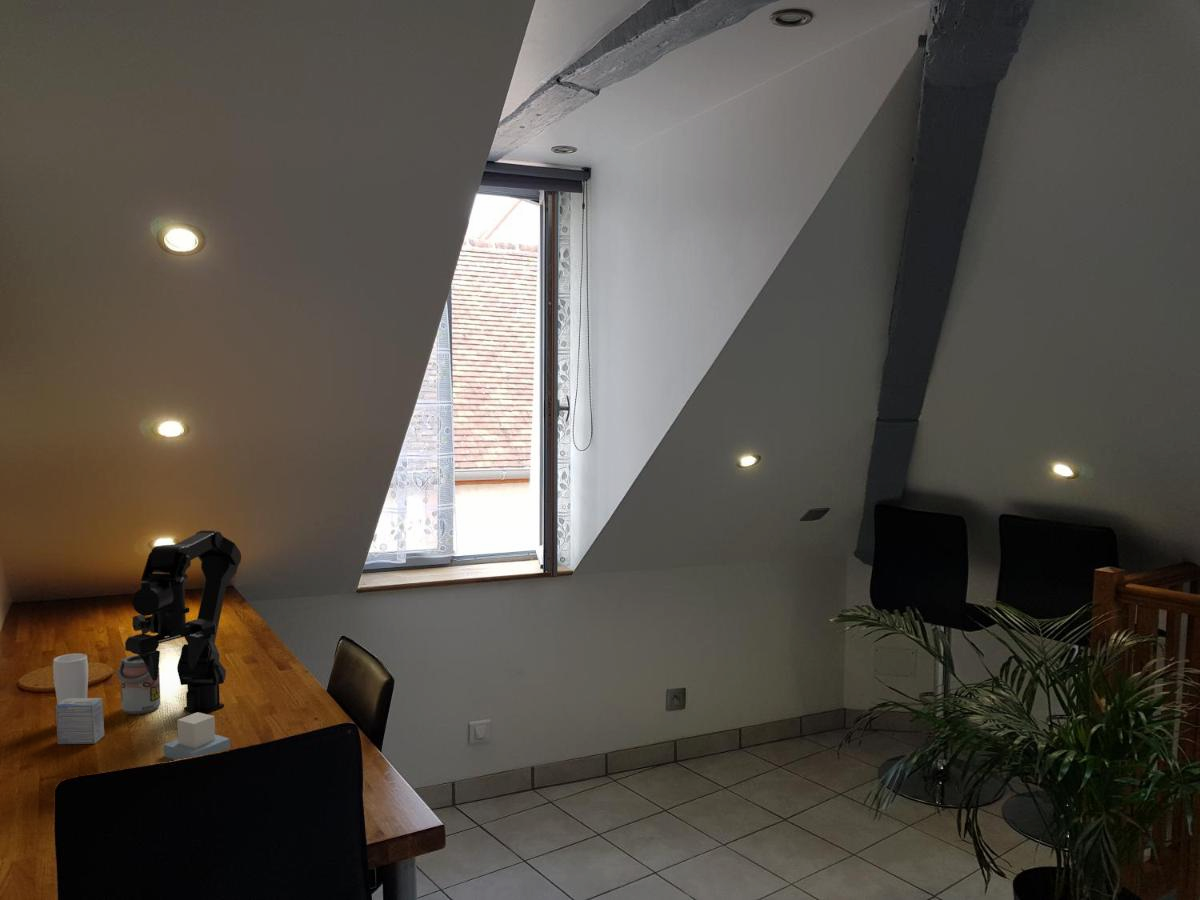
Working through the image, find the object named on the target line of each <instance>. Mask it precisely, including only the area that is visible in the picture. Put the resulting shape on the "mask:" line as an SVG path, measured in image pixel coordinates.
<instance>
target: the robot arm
mask: <svg viewBox="0 0 1200 900" xmlns="http://www.w3.org/2000/svg"><path fill="white" fill-rule="evenodd" d="M196 558H198V559H199V561H200V562H201V563H200V564H201V565H200V568H201V571H202V573H203V576H204V578H205V582H204V584H203V585H204V586H203V590H202V595H201V600H200V605H199V609H198V613H197V618H196V619H193V620H189V621H187V620H186V619H187V618H186V617H187V616H186V615H187V614H188V613H190V607H187V606H186V594H185V593H186V591H185V590H186V589H185V588H186V587H185V580H187V579H188V577H189V576H188V574H187V573H186V572H187V570H188V569H189V568H190V567H191V566H192V564H191V561H192V560H194V559H196ZM241 561H242V553H241V551H240V549H239V548H238V546H237V544H236V543H235V542H233V541H232V540H230V539H228V538H227V537H224V535H223V534H222V532H220V531H218V530H205V529H204V530H200V531H197V532H196V533H195V534H194V535H193V534H192V535H191V536H189V537H187V538H185V539H183V540H181V541H180V542H177V543H176V544H164V545H163V544H162V545H156V546H154V547H153V548H152V549H151V551H150V552H149V554H148V556H147V559H146V563H145V565H144V569H143V573H142V575H141V579H140V580H141V584H140V587H141V589H140V588H139V590H137V591H136V592H135V593H134V595H133V598H132V600H131V601H132V602H131V603H132V606H133V607H132V608H133V609H134V610H135V611H136V612H137V613H138V614H139V615H135V616H133V617H132V628H133V631H134V632H138V631H140V632H141V633H139V634H136V635H131V636H128V637H127V639H126V640H125V643H124V645H125V646H124V647H125V651H127V652H131V653H132V654H134V655H139V656H140V657H141V658H142V660H143V661H144V663H145V665H146V667H147V669H148V672H149V674H150V676H151V678H152V680H154V681H156V680H157V677H158V670H159V671H160V667H159V666H160V656H161V655H160V654H161V651H160V650H157V649H158V648H159V647H160V645H159V644H162V643H166V642H169V641H173V640H174V641H175V640H177V639H181V638H185V641H186V643H187V644H183V645H182V647H181V652H180V657H179V659H178V662H177V668H176V669H177V675H178V678H179V682H180V685H181V686H185V685H187V692H185V694H186V695H185V697H186V706H184V707H183V710H184V711H188V712H192V713H193V714H194V713H197V712H199V713H203V714H206V713H209V712H213V711H215V710H217V709H218V710H219V709H221V708H223V707H225V704H224V703H222V702H221V701H220V700H221V699H220V684H221V685H222V684H224V683H225V681H226V676H227V670H226V669H225V667H224V666H223V665H222V663H221V662H220V653H219V650H218V647H217V645H216V639H217V634H218V633H217V632H218V628H219V623H220V619H221V616H222V615H221V614H222V609H223V604H224V599H225V594H226V589H227V585H228V583H229V582H230V581H231V580H232V579H233V577H234V576H235V575H236V574H237V572H238V567H239V565H240V564H241ZM149 632H150V634H151V635H150V634H148V633H149ZM152 634H154V635H152ZM155 634H156V635H155Z"/></svg>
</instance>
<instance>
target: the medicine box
mask: <svg viewBox="0 0 1200 900" xmlns="http://www.w3.org/2000/svg"><path fill="white" fill-rule="evenodd" d="M103 707H104V705H103V698H102V697H87V698H67V699H65V700H63V701H61V702H60V703H59V704H56V705H55V718H56V719H55V720H56V733H57V744H58V745H77V744H78V745H80V744H81V745H82V744H83V745H84V744H85V745H87V744H88V745H91V744H96V743H98V742H99V741H100V740H102V739H103V737H105V724H104V708H103Z"/></svg>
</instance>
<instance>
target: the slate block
mask: <svg viewBox="0 0 1200 900" xmlns="http://www.w3.org/2000/svg"><path fill="white" fill-rule="evenodd" d="M227 749H230V750H231V738H229V737H226V736H222V735H218V734H216V733H215V740H213V741H211V742H209V743H206V744H204V745H201V746H199V747H197V748H193V747H189V746H185V745H182V744H178V738H177V739H173V740H172V741H169V742H166V743H164V744H163V757H165V758H167V759H171V758H173V759H172V760H174V761H177V759H183V758H189V757H195V756H200V755H206V754H211V753H215V752H219V751H223V750H227Z"/></svg>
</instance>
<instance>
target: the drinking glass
mask: <svg viewBox="0 0 1200 900" xmlns="http://www.w3.org/2000/svg"><path fill="white" fill-rule="evenodd" d="M52 662H53V663H52V667H53V668H52V669H53V670H52V671H53V682H54V683H53V684H54V689H55V696H56V701H57V702H56V703H57V704H59V703H60V702H61V701H63V700H65V699H67V698H88V690H89V689H88V688H89V687H88V686H89V685H88V684H89V663H88V655H87V654H86V653H68V654H67V653H66V654H63V655H59V656H56V657H54V658H53V661H52ZM57 704H56V705H57Z"/></svg>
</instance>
